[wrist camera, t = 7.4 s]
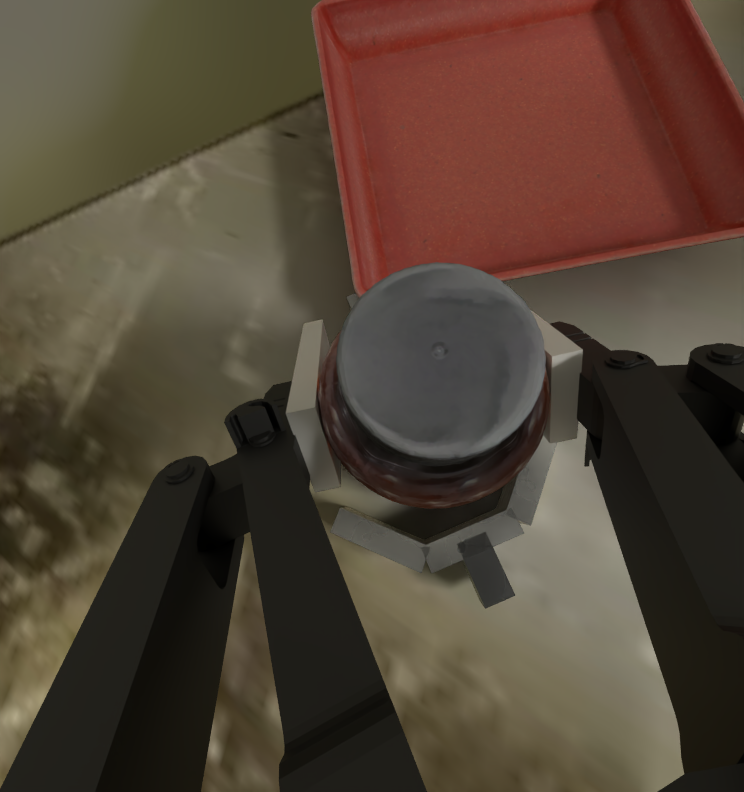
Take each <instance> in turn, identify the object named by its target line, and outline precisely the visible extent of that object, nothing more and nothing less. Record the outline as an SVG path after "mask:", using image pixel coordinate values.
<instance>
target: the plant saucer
mask: <svg viewBox="0 0 744 792" xmlns="http://www.w3.org/2000/svg"><path fill="white" fill-rule="evenodd" d="M311 17H312V24H313V29H314V37H315V42H316V48H317V54H318V61H319V67H320V74H321V80H322V87H323V93H324V100H325V105H326V112H327V117H328V125H329V131H330V136H331V144H332V149H333V157H334V163H335V168H336V174H337V181H338V188H339V194H340V200H341V206H342V214H343V220H344V225H345V234H346V240H347V246H348V252H349V259H350V265H351V274H352V282H353V286H354V290H355V292H356V294H357V295H358V296H359V297H361V296H362V295H363V294H364V293H365V292H366V291H367V290H369V289H370V288H371V287H372V286H373V285H374V284H375V283H377V282H379V281H380V280H382V279H383V278H385V277H387V276H388V275H390V274H392V273H394V272H397V271H400V270H402V269H404V268H408V267H412V266H415V265H420V264H428V263H435V262H439V263H455V264H462V265H466V266H470V267H473V268H476V269H479V270H481V271H484V272H486V273H487V274H491V275H493V276H494V277H496V278H498V279H500V280H501V281H506V280H511V279H517V278H522V277H528V276H533V275H538V274H544V273H549V272H554V271H560V270H565V269H570V268H575V267H580V266H586V265H591V264H597V263H602V262H608V261H613V260H618V259H624V258H629V257H635V256H640V255H646V254H651V253H657V252H662V251H667V250H673V249H678V248H684V247H690V246H695V245H701V244H706V243H712V242H718V241H723V240H729V239H735V238H740V237H744V102H743V100H742V98H741V96H740V94H739V92H738V90H737V89H736V87H735V84H734V82H733V80H732V79H731V77H730V75H729V73H728V70H727V68H726V67H725V65H724V63H723V62H722V60H721V58H720V56H719V54H718V52H717V50H716V48H715V46H714V45H713V43H712V41H711V38H710V36H709V34H708V32H707V30H706V29H705V27H704V25H703V24H702V21H701V19H700V17H699V15H698V14H697V12H696V10H695V8H694V6H693V4H692V3H691V1H690V0H322V1H320V2H318V3H317V4H316V5H315V6H314V7H313V9H312V11H311Z"/></svg>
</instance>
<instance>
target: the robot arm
mask: <svg viewBox="0 0 744 792" xmlns="http://www.w3.org/2000/svg"><path fill="white" fill-rule="evenodd" d="M531 312H532V314H533V315H534V317H535V319H536V322H537V324H538V327H539V329H540V330H541V332H542V336H543V340H544V350H545V356H546V363H545V367H546V371H547V376H548V381H549V390H550V404H549V414H548V419H547V424H546V428H545V430H544V433H543V435H544V437H545V438H546V439H547V441H548V442H549V443H550V444H551V443H556V442H561V441H565V440H570V439H575V438H577V430H578V421H579V422H580V423H581V424H582V425H583V426H584V427H585V428H586V429H587V438H586V450H585V466H589V461H590V460H592V463H593V466H594V469H595V472H596V476H597V479H598V482H599V485H600V488H601V491H602V494H603V497H604V500H605V503H606V506H607V509H608V512H609V515H610V518H611V521H612V524H613V527H614V530H615V533H616V536H617V539H618V542H619V545H620V548H621V551H622V554H623V557H624V560H625V563H626V566H627V569H628V572H629V575H630V578H631V581H632V584H633V587H634V590H635V593H636V596H637V599H638V603H639V606H640V609H641V612H642V615H643V618H644V621H645V624H646V627H647V630H648V633H649V636H650V639H651V642H652V645H653V648H654V651H655V654H656V657H657V660H658V663H659V666H660V669H661V672H662V675H663V678H664V681H665V684H666V687H667V690H668V693H669V696H670V699H671V702H672V705H673V708H674V711H675V715H676V718H677V722H678V727H679V732H680V745H681V758H682V763H683V769H684V775H683V776H681V777H679V778H678V779H676V780H675V781H673V782H672V783H670V784H669V785H667V786H666V787H664V788H663V789H661V790H660V791H658V792H744V434H743V433H742V432H741V429H742V426H743V423H744V347H741V346H736V345H734V344H726V343H725V344H723V343H716V344H711V345H704V346H700V347H697V348H695V349H694V350H692V351H691V352H690V357H689V361H688V365H669V366H657V365H656V364H655V362H654V361H653V360H652V359H651V358H650V357H648V356H647V355H645V354H642V353H639V352H634V351H628V350H614V351H610V350H609V349H607V348H606V347H605V346H603V345H602V344H600V343H599V342H597V341H596V340H594V339H591V337H590V336H589V335H587V334H586V333H584V332H583V331H581V330H580V329H578V328H577V327H576V326H574V325H570V324H567V323H563V322H555V323H551V324H549V323H547V322H546V321H545V320H543V319H542V318H541V317H539V316H538V315H537V314H535V313H534V312H533V311H532V310H531ZM329 349H330V344H329V340H328V337H327V333H326V330H325V326H324V322H323V319H322V320H317V321H313V322H308V323H304V325H303V330H302V335H301V340H300V345H299V350H298V355H297V359H296V364H295V369H294V374H293V379H292V381H290V382H285V383H281V384H276V385H273V386H272V387H271V388H270V390H269V391H268V392H267V393H266V394H265V397H264V399H256V400H253V401H249V402H246V403H244V404H242V405H240V406H238V407H236V408H235V409H234V410H232V411H231V412H230V413H229V414H228V415H227V416H226V418H225V422H224V423H225V425H226V427H227V429H228V431H229V433H230V436H231V438H232V440H233V442H234V444H235V446H236V448H237V454H236V455H234V456H232V457H230V458H228V459H226V460H224V461H221V462H219V463H217V464H214V465H212V466H209V465H208V464H207V462H206V460H205V459H204V458H203V457H199V456H191V457H185V458H182V459H178V460H176V461H174V462H173V463H170V464H169V465H167V466H166V467H165V468H164V469H163V470H162V471H160V472H159V473H158V474H157V476H156V477H155V479H154V480H153V482H152V484H151V486H150V488H149V490H148V492H147V494H146V496H145V498H144V500H143V502H142V504H141V506H140V508H139V510H138V512H137V514H136V516H135V518H134V520H133V522H132V524H131V526H130V528H129V530H128V532H127V534H126V536H125V538H124V540H123V542H122V544H121V546H120V548H119V550H118V552H117V554H116V556H115V558H114V560H113V562H112V565H111V567H110V569H109V571H108V573H107V575H106V577H105V579H104V581H103V583H102V585H101V587H100V589H99V591H98V593H97V595H96V597H95V599H94V601H93V603H92V605H91V607H90V609H89V611H88V613H87V615H86V617H85V619H84V621H83V623H82V625H81V627H80V629H79V631H78V633H77V635H76V637H75V639H74V641H73V643H72V645H71V647H70V649H69V651H68V653H67V655H66V657H65V659H64V661H63V663H62V665H61V667H60V669H59V671H58V673H57V675H56V677H55V679H54V682H53V684H52V686H51V688H50V690H49V692H48V694H47V696H46V698H45V700H44V702H43V704H42V706H41V708H40V710H39V712H38V714H37V716H36V718H35V720H34V722H33V724H32V726H31V728H30V730H29V732H28V734H27V736H26V738H25V740H24V742H23V744H22V746H21V748H20V750H19V752H18V754H17V756H16V758H15V760H14V762H13V764H12V766H11V768H10V770H9V772H8V774H7V776H6V778H5V780H4V782H3V784H2V786H1V788H0V792H201V787H202V782H203V776H204V770H205V764H206V758H207V752H208V747H209V741H210V735H211V729H212V723H213V717H214V712H215V706H216V700H217V694H218V688H219V682H220V677H221V671H222V665H223V659H224V653H225V648H226V642H227V636H228V630H229V624H230V618H231V613H232V607H233V601H234V595H235V589H236V583H237V578H238V572H239V566H240V560H241V554H242V548H243V543H244V534H246V533H248V532H250V533H251V539H252V545H253V551H254V557H255V563H256V570H257V576H258V582H259V588H260V594H261V600H262V606H263V612H264V618H265V625H266V631H267V637H268V643H269V649H270V655H271V661H272V667H273V674H274V680H275V686H276V692H277V698H278V704H279V710H280V716H281V722H282V729H283V735H284V744H285V752H284V756H283V758H282V760H281V762H280V764H279V786H280V792H427V791H426V788H425V786H424V783H423V780H422V778H421V775H420V773H419V770H418V768H417V765H416V762H415V760H414V757H413V755H412V752H411V750H410V747H409V744H408V742H407V739H406V737H405V734H404V732H403V729H402V726H401V724H400V721H399V719H398V716H397V714H396V711H395V708H394V706H393V703H392V701H391V698H390V696H389V693H388V691H387V688H386V686H385V683H384V681H383V678H382V676H381V673H380V670H379V668H378V665H377V663H376V660H375V657H374V655H373V652H372V650H371V647H370V645H369V642H368V639H367V637H366V634H365V632H364V629H363V627H362V624H361V621H360V619H359V616H358V614H357V611H356V609H355V606H354V603H353V601H352V598H351V596H350V593H349V590H348V588H347V585H346V583H345V580H344V578H343V575H342V572H341V570H340V567H339V565H338V562H337V560H336V557H335V554H334V552H333V549H332V547H331V544H330V541H329V539H328V536H327V534H326V531H325V529H324V526H323V523H322V521H321V518H320V516H319V513H318V511H317V508H316V505H315V503H314V500H313V498H312V495H311V492H310V490H309V485H310V480H311V483H312V486H313V488H314V491H315V492H319V491H324V490H329V489H334V488H339V487H341V461H340V460H339V459H338V457H337V456H336V455H335V453H334V451H333V449H332V448H331V446H330V445H329V441H328V439H327V436H326V434H325V432H324V428H323V424H322V421H321V416H320V411H319V402H318V393H319V379H320V375H321V371H322V366H323V362H324V360H325V357H326V355H327V353H328V351H329Z"/></svg>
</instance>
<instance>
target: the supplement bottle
mask: <svg viewBox="0 0 744 792" xmlns="http://www.w3.org/2000/svg"><path fill="white" fill-rule="evenodd" d="M545 363H546V356H545V350H544V340H543V336H542V332H541V330H540V329H539V327H538V324H537V322H536V319H535V317H534V315H533V314H532V312H531V310H530V309H529V307H528V306H527V304H526V303H525V301H524V300H523V299H522V298H521V297H520V296H519V295H518V294H516V293H515V292H514V291H513V290H512V289H511V288H510V287H509V286H507V285H506V284H505V283H503V282H502V281H501V280H500V279H498V278H496V277H494V276H493V275H491V274H487V273H486V272H484V271H481V270H479V269H476V268H473V267H470V266H466V265H462V264H455V263H439V262H435V263H428V264H420V265H415V266H412V267H408V268H404V269H402V270H400V271H397V272H394V273H392V274H390V275H388V276H387V277H385V278H383V279H382V280H380V281H379V282H377V283H375V284H374V285H373V286H372V287H371V288H370V289H369V290H367V291H366V292H365V293H364V294H363V295H362V296H361V297H360V298H359V299H358V301H357V302H356V303H355V304H354V306H353V307H352V309H351V311H350V313H349V314H348V316H347V318H346V320H345V322H344V324H343V327H342V330H341V331H340V332H339V333H338V335H337V336H336V338H335V340H334V341H333V343H332V345H331V347H330V349H329V351H328V353H327V355H326V357H325V360H324V362H323V366H322V371H321V375H320V379H319V393H318V402H319V411H320V416H321V421H322V424H323V428H324V432H325V434H326V436H327V439H328V441H329V445H330V446H331V448H332V449H333V451H334V453H335V455H336V456H337V457H338V459H339V460H340V461H341V463H342V465H343V466H344V467H345V468H346V469H347V470H348V471H349V473H350V474H352V475H353V476H354V477H355V478H356V479H357V480H358V481H360V482H361V483H362V484H364V485H365V486H366V487H367V488H369V489H370V490H372V491H374V492H375V493H377V494H379V495H381V496H383V497H385V498H387V499H389V500H391V501H394V502H397V503H400V504H404V505H408V506H413V507H420V508H438V509H439V508H451V507H456V506H461V505H465V504H468V503H471V502H474V501H476V500H479V499H481V498H483V497H485V496H487V495H489V494H491V493H493V492H495V491H497V490H498V489H500V488H501V487H503V486H504V485H506V484H507V483H509V482H510V481H511V480H512V479H513V478H514V477H515V476H516V475H517V474H518V473H519V472H520V471H521V470H522V469H523V468H524V467H525V466H526V465H527V463H528V462H529V460H530V459H531V457H532V456H533V454H534V453H535V451H536V449H537V448H538V446H539V444H540V441H541V439H542V437H543V433H544V430H545V428H546V424H547V419H548V414H549V404H550V390H549V381H548V376H547V371H546V367H545Z"/></svg>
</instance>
